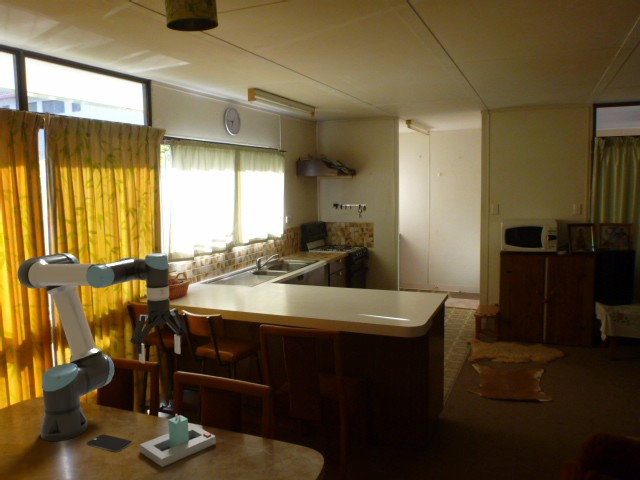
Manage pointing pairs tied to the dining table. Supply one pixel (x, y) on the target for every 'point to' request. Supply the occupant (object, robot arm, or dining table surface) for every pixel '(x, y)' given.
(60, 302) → the robot arm
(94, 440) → the smartphone
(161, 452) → the grey slotted tray
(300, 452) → the dining table surface
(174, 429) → the block
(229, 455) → the dining table surface
